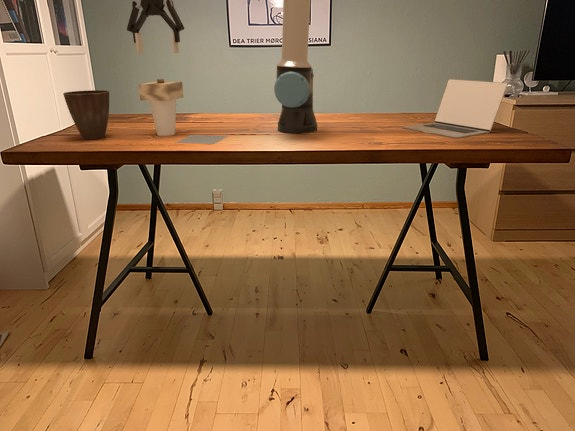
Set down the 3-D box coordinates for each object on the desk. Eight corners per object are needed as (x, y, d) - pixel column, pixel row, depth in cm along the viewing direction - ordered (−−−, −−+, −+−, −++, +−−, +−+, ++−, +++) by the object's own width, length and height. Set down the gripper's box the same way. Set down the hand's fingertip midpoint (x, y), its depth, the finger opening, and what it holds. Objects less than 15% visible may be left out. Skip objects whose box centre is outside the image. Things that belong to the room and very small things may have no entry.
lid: (183, 97, 167) (181, 78, 165) (169, 100, 157) (167, 80, 155) (156, 97, 170) (154, 78, 167) (140, 100, 160) (137, 80, 157)
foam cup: (172, 138, 163) (168, 100, 158) (148, 137, 164) (144, 100, 160) (183, 133, 171) (180, 97, 167) (160, 132, 173) (156, 97, 169)
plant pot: (66, 137, 166) (57, 92, 161) (107, 132, 175) (100, 89, 170) (78, 143, 155) (70, 95, 150) (122, 137, 164) (115, 91, 159)
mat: (228, 136, 163) (228, 136, 163) (213, 144, 151) (213, 144, 150) (192, 135, 167) (192, 134, 166) (174, 143, 154) (174, 142, 154)
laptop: (401, 129, 176) (404, 82, 170) (444, 123, 188) (449, 78, 182) (455, 140, 155) (462, 86, 149) (500, 132, 167) (508, 82, 161)
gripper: (190, -16, 151) (196, 52, 158) (123, -13, 157) (131, 53, 164) (180, -19, 144) (186, 52, 152) (110, -15, 150) (119, 53, 157)
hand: (158, 53), depth 158 cm, fingers open, 13 cm apart
